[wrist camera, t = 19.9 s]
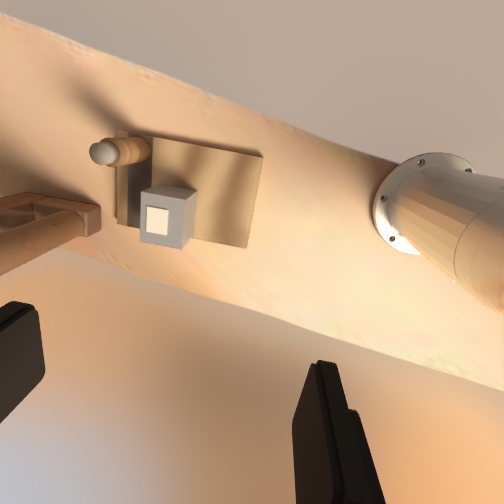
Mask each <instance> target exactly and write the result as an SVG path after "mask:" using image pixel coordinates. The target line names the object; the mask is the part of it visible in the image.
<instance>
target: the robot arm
mask: <svg viewBox="0 0 504 504" xmlns="http://www.w3.org/2000/svg"><path fill="white" fill-rule="evenodd" d="M418 161H420V163H419V164H418V165H417V163H418ZM464 170H465V171H464ZM381 196H383V199H380V198H381ZM373 220H374V224H375V227H376V229H377V231H378V233H379V234H380V236H381V237H382V238H383V240H384V241H385V242H387V243H388V244H389V245H390V246H392V247H393V248H395V249H397V250H399V251H402V252H405V253H410V254H421V255H422V256H424V257H425V258H426V259H427V260H428V261H430V262H431V263H432V264H433V265H435V266H436V267H437V268H438V269H440V270H441V271H442V272H443V273H444V274H446V275H447V276H448V277H449V278H451V279H452V280H453V281H454V282H455V283H457V284H458V285H459V286H460V287H462V288H463V289H464V290H465V291H467V292H468V293H469V294H471V295H472V296H473V297H474V298H476V299H477V300H478V301H480V302H481V303H482V304H484V305H485V306H487V307H489V308H491V309H493V310H495V311H497V312H499V313H502V314H504V179H502V178H497V177H491V176H487V175H481V174H478V172H477V171H476V169H475V168H474V167H473V166H472V165H471V164H470V163H469V162H468V161H466V160H464V159H463V158H461V157H459V156H455V155H452V154H448V153H427V154H422V155H418V156H415V157H413V158H410V159H408V160H406V161H405V162H403V163H401V164H400V165H398V166H397V167H396V168H395V169H394V170H392V171H391V172H390V173H389V174H388V176H387V177H386V178H385V179H384V180H383V182H382V184H381V185H380V187H379V188H378V191H377V193H376V196H375V198H374V204H373ZM390 236H391V238H389V237H390ZM44 374H45V363H44V355H43V348H42V339H41V331H40V323H39V315H38V312H37V310H35V308H34V306H33V305H31V304H27V303H21V302H17V301H11V302H9V303H7V304H5V305H4V306H2V307H1V308H0V423H1V422H2V421H3V420H4V419H5V418H6V417H7V416H8V415H9V414H10V413H11V412H12V411H13V410H14V409H15V407H16V406H17V405H18V404H19V403H20V402H21V401H22V400H23V399H24V398H25V397H26V396H27V395H28V394H29V393H30V392H31V391H32V390H33V389H34V388H35V387H36V385H37V384H38V383H39V382H40V381H41V380H42V378H43V376H44ZM292 439H293V456H294V472H295V489H296V490H295V491H296V504H386V503H385V499H384V496H383V492H382V489H381V486H380V483H379V479H378V476H377V473H376V469H375V466H374V463H373V459H372V456H371V453H370V449H369V446H368V443H367V439H366V436H365V433H364V430H363V426H362V423H361V419H360V417H359V414H358V413H357V411H356V410H352V409H348V405H347V401H346V398H345V394H344V390H343V387H342V383H341V379H340V375H339V372H338V368H337V365H336V364H335V363H332V362H327V361H322V360H318V361H317V363H316V364H313V363H312V364H311V366H310V368H309V372H308V375H307V378H306V381H305V384H304V387H303V390H302V393H301V396H300V399H299V402H298V406H297V408H296V411H295V414H294V418H293V422H292Z"/></svg>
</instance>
